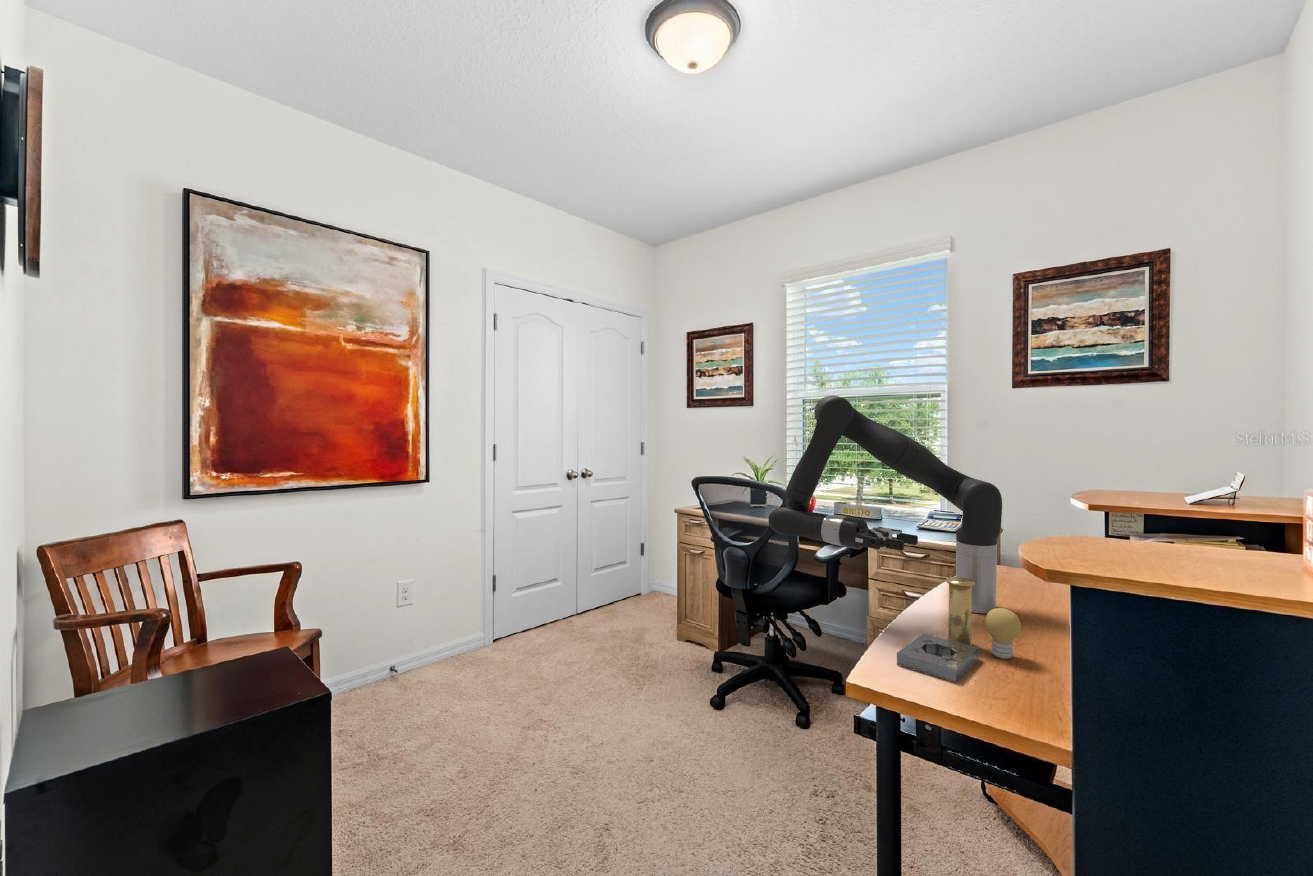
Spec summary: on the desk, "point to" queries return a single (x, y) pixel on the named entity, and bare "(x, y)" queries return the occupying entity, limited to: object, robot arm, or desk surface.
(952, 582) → the rivet
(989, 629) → the light bulb
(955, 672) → the jig
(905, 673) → the desk surface
